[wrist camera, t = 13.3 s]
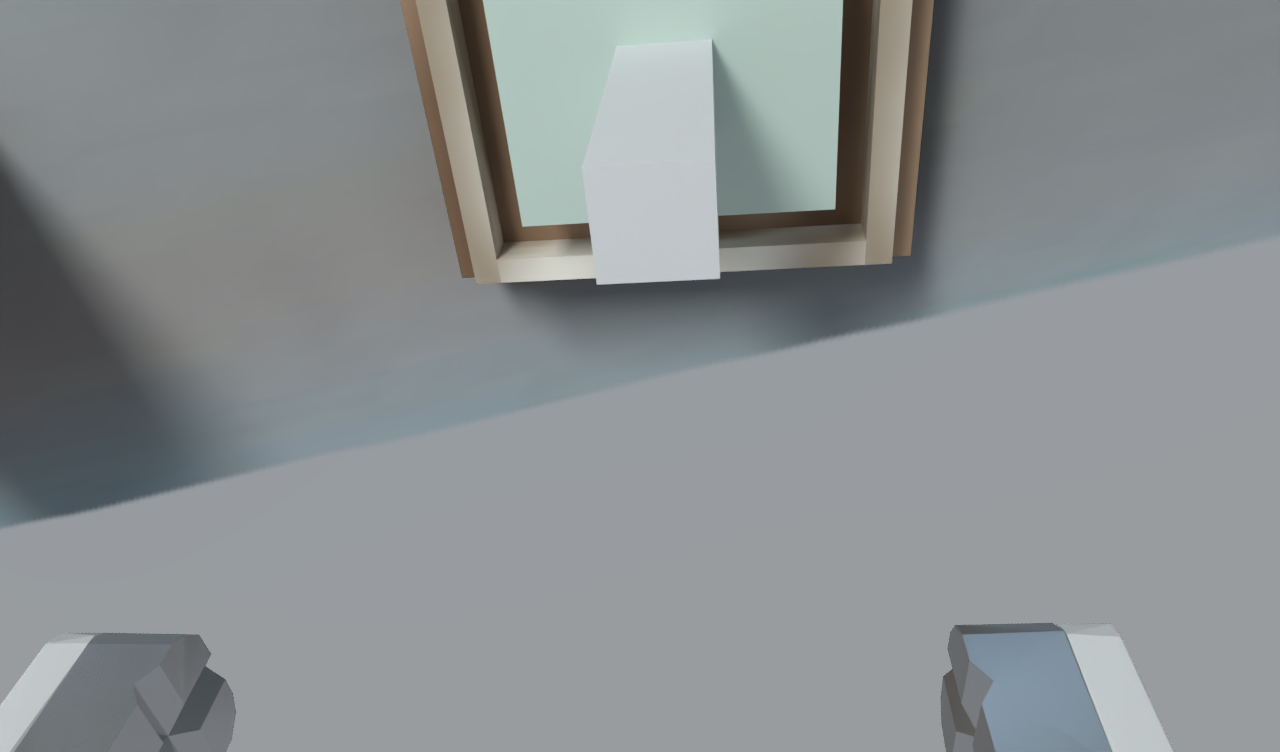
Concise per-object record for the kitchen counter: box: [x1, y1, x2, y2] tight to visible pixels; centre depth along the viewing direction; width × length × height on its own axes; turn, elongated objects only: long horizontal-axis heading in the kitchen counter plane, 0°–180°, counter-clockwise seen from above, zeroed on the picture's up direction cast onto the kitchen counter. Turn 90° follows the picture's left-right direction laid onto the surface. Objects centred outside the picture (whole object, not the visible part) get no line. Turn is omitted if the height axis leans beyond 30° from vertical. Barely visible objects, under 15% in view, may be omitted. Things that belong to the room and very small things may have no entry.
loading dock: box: [400, 0, 934, 284], centre depth 32 cm, size 18×19×4 cm
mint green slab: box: [483, 0, 843, 285], centre depth 27 cm, size 11×9×13 cm
